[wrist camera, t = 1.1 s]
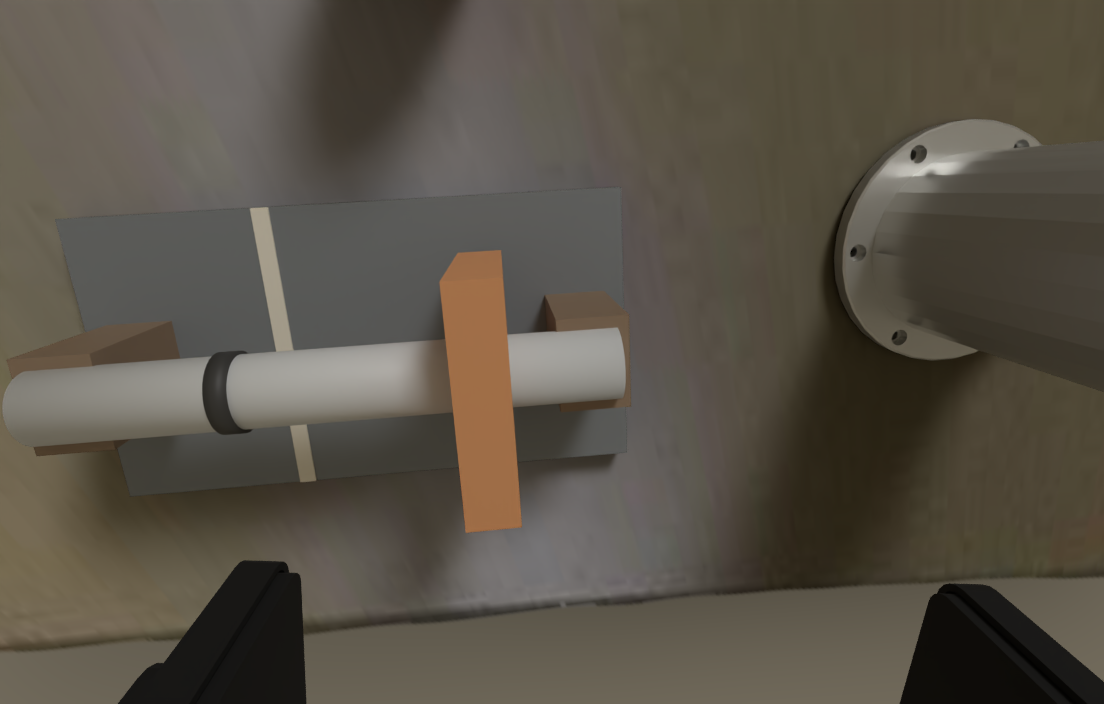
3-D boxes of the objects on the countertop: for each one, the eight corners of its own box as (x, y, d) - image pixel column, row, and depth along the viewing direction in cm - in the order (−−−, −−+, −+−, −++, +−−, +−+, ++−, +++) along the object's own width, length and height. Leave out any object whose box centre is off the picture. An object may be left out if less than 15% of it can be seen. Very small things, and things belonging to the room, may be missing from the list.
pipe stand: (615, 187, 30) (663, 185, 21) (621, 441, 34) (664, 529, 25) (77, 217, 28) (-111, 230, 20) (146, 482, 32) (15, 593, 23)
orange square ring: (501, 250, 28) (502, 277, 19) (514, 429, 30) (521, 527, 21) (457, 252, 27) (439, 281, 19) (475, 433, 30) (465, 532, 21)
